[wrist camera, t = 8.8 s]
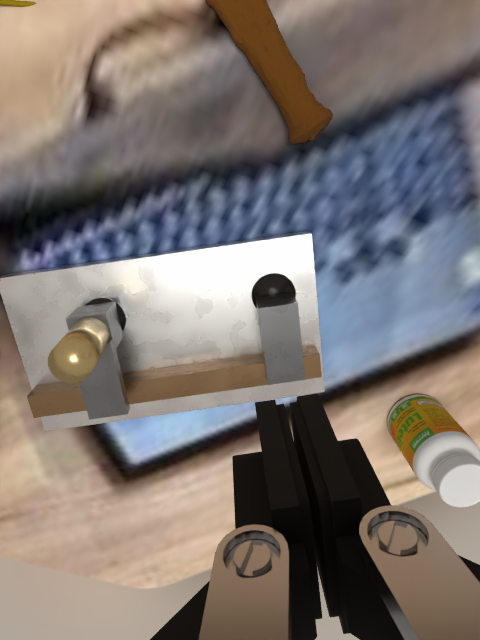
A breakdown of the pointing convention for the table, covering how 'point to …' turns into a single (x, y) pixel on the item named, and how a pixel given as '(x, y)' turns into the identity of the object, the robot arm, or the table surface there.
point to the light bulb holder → (93, 359)
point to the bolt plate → (179, 326)
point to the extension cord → (16, 3)
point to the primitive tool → (274, 65)
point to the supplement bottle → (437, 449)
